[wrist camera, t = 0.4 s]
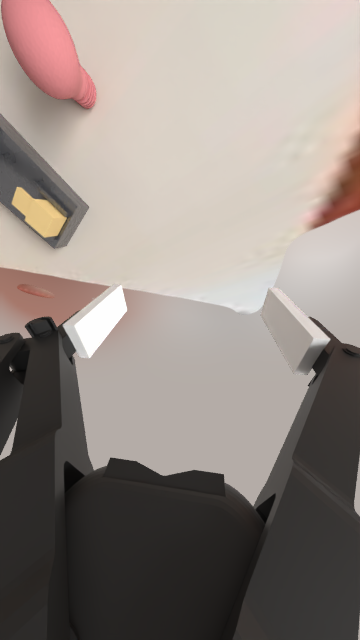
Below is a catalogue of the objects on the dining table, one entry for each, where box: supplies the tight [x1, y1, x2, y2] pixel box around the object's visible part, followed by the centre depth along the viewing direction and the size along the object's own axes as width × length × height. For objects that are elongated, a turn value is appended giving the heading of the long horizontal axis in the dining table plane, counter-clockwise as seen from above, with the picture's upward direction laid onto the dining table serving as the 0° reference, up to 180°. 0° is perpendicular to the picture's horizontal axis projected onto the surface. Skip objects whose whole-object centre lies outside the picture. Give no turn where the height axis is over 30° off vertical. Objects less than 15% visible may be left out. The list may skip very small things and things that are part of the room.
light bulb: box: [1, 0, 96, 108], centre depth 22 cm, size 7×7×12 cm
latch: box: [11, 187, 67, 238], centre depth 32 cm, size 7×5×4 cm
